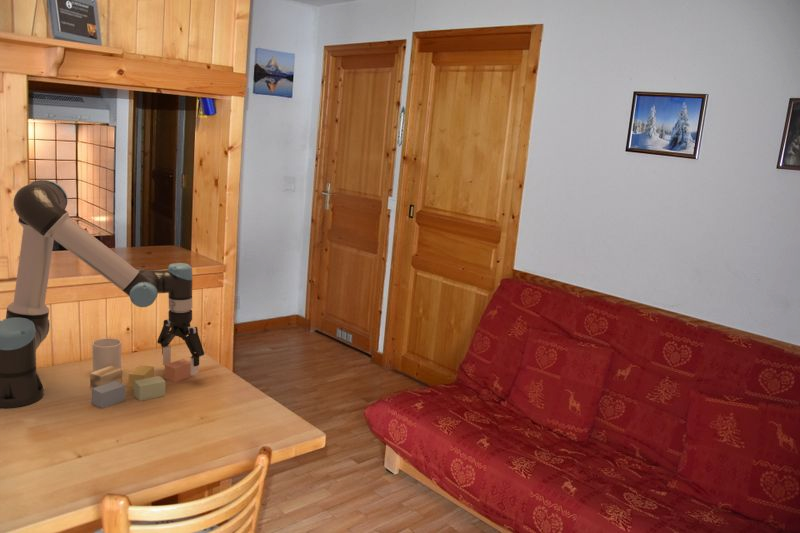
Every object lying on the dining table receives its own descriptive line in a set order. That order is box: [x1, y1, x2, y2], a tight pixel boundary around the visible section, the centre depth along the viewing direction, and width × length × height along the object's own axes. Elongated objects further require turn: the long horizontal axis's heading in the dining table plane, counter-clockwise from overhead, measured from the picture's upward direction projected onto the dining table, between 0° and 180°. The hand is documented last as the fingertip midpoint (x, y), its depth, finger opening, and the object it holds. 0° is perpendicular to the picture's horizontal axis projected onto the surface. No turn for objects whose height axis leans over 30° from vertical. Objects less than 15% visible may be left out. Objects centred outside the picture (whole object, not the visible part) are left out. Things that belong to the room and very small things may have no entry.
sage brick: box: [133, 375, 166, 402], centre depth 207 cm, size 5×8×5 cm, turn 132°
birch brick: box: [89, 366, 123, 389], centre depth 211 cm, size 5×8×5 cm, turn 154°
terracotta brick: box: [164, 358, 192, 383], centre depth 223 cm, size 5×8×5 cm, turn 151°
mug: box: [91, 337, 123, 372], centre depth 221 cm, size 12×9×11 cm
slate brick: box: [91, 381, 126, 409], centre depth 200 cm, size 5×8×5 cm, turn 148°
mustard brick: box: [128, 364, 155, 389], centre depth 215 cm, size 5×8×5 cm, turn 179°
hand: (180, 369), depth 223 cm, fingers open, 13 cm apart
